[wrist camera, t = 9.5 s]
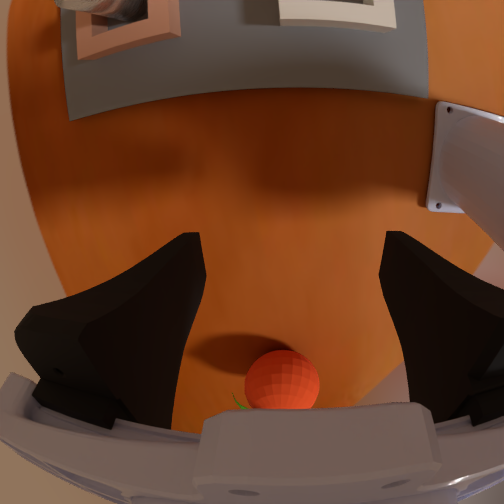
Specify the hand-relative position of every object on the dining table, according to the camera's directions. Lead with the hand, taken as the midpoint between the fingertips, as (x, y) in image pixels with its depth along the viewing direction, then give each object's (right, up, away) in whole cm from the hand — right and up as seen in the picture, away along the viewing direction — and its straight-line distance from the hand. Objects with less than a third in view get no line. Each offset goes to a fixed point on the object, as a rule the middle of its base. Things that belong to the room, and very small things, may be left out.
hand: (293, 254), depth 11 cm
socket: (-9, +15, +1) cm, 18 cm away
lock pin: (-9, +15, +1) cm, 18 cm away
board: (-3, +16, +2) cm, 16 cm away
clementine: (+1, -10, +18) cm, 20 cm away
